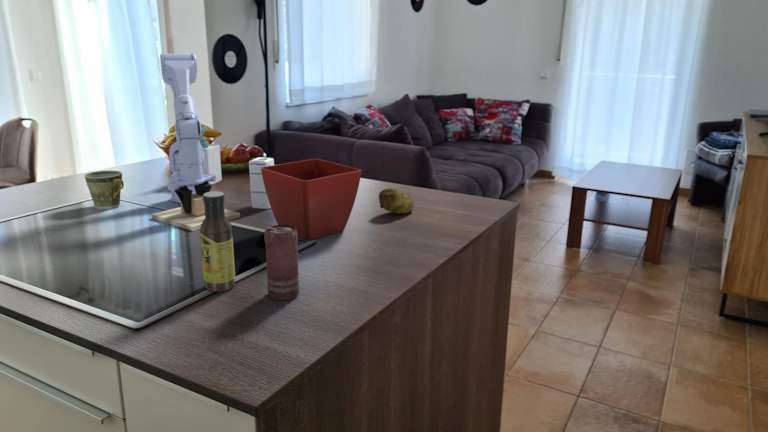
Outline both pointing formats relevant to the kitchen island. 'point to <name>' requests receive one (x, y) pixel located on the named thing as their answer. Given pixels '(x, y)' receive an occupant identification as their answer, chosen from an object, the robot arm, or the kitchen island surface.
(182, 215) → the board
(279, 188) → the plant pot
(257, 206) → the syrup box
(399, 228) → the kitchen island surface
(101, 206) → the ceramic cup
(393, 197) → the yellow-green lumpy oblong piece
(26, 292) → the kitchen island surface
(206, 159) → the soap bottle
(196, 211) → the block
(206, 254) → the sauce bottle
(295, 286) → the can
